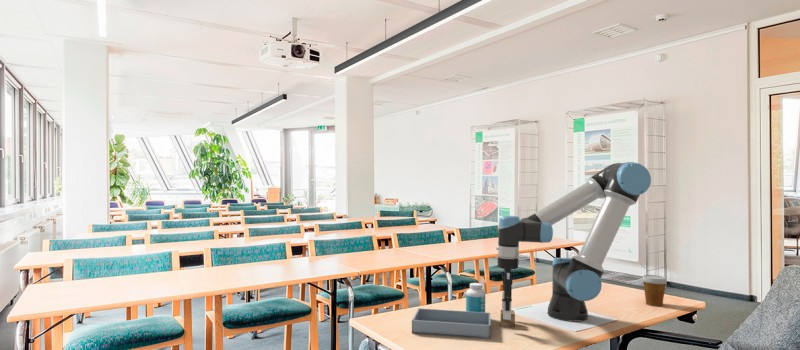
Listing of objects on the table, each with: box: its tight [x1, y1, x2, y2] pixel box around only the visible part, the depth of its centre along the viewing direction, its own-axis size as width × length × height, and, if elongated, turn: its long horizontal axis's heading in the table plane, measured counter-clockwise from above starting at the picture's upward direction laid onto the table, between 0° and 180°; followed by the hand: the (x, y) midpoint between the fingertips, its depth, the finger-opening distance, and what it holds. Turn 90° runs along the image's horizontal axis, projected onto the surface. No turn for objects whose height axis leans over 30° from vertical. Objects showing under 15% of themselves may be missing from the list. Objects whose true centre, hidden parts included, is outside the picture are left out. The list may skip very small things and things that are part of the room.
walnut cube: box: [500, 309, 516, 328], centre depth 174 cm, size 5×5×5 cm
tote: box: [411, 307, 491, 340], centre depth 169 cm, size 27×15×4 cm, turn 79°
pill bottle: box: [465, 282, 486, 313], centre depth 181 cm, size 8×7×14 cm
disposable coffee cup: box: [641, 274, 668, 307], centre depth 203 cm, size 10×10×12 cm
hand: (506, 313), depth 174 cm, fingers open, 13 cm apart
